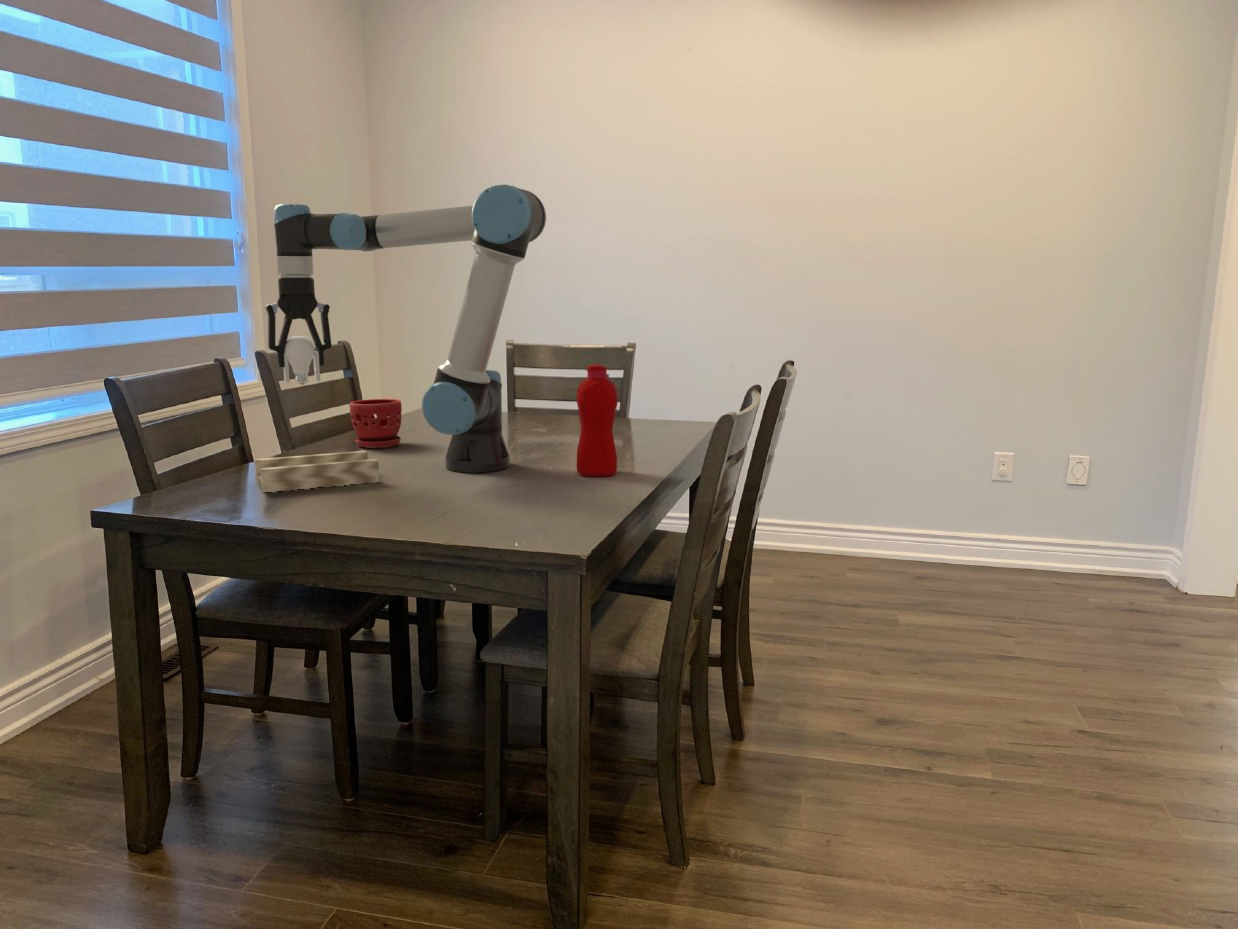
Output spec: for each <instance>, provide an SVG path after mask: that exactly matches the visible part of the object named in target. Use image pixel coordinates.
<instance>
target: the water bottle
mask: <svg viewBox="0 0 1238 929" xmlns="http://www.w3.org/2000/svg"><path fill="white" fill-rule="evenodd" d="M607 370H608V368H607V366H604V365H601V364H597V363H596V364H590V365H587V368H586V369H585V371H587V374H586V375H587V378H585V379H584V380H582V381H581V382H580V384H579V386H578V387H577V392H576V404H577V409H578V416H579V421H580V428H581V429H580V435H579V440H578V444H577V445H578V446H577V450H576V472H577V473H578V474H579V475H580V476H583V477H611V476H614V475H615V474H616V473H617V471H618V455H617V449H616V442H615V438H614V432H613V428H614V422H615V416H616V412H617V407H618V392H619V394H620V398H621V400H622V406H623V407H625V406H624V405H625V404H624V401H623V396H622V394H621V391H620V390H618V391H617V389H618V387H617V386H616V384H615V383H614V382H613V381H612V380H611V379H610V374H607V373H608V372H607ZM623 411H624V412H623V413H624V414H623V420H622V421H620V420H619V419H618V417H616V419H617V421H618V422H619V423H622V422H624V420H625V415H626V414H625V410H623Z"/></svg>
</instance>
